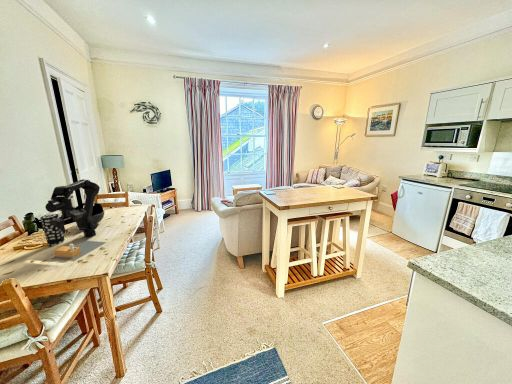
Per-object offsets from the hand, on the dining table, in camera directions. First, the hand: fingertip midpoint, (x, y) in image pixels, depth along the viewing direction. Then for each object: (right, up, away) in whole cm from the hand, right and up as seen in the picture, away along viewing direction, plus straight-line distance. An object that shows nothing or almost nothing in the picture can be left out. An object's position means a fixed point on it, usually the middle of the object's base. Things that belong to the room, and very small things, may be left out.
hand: (72, 229), depth 132 cm
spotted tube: (-16, -11, +6) cm, 20 cm away
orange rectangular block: (+6, -13, -9) cm, 17 cm away
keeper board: (+8, -13, -3) cm, 16 cm away
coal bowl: (-17, -3, +37) cm, 41 cm away
